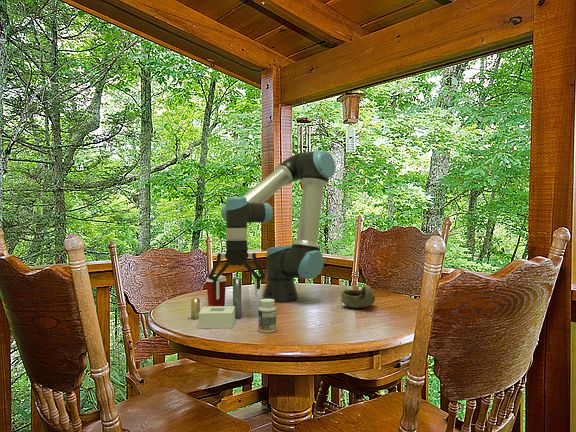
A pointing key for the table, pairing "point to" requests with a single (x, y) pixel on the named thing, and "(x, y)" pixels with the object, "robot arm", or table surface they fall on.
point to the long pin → (237, 298)
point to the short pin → (195, 308)
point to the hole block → (217, 317)
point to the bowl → (358, 297)
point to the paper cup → (213, 293)
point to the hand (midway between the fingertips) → (237, 298)
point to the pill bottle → (267, 316)
